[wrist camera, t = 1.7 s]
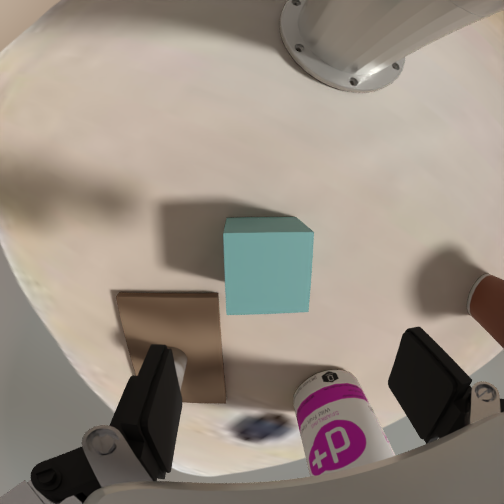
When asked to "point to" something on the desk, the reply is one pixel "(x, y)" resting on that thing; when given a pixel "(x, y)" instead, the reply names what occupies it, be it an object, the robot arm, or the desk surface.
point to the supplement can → (338, 424)
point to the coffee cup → (488, 305)
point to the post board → (178, 338)
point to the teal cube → (267, 265)
